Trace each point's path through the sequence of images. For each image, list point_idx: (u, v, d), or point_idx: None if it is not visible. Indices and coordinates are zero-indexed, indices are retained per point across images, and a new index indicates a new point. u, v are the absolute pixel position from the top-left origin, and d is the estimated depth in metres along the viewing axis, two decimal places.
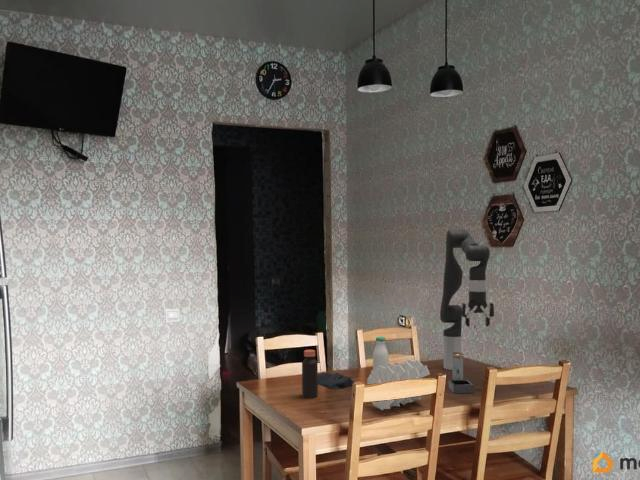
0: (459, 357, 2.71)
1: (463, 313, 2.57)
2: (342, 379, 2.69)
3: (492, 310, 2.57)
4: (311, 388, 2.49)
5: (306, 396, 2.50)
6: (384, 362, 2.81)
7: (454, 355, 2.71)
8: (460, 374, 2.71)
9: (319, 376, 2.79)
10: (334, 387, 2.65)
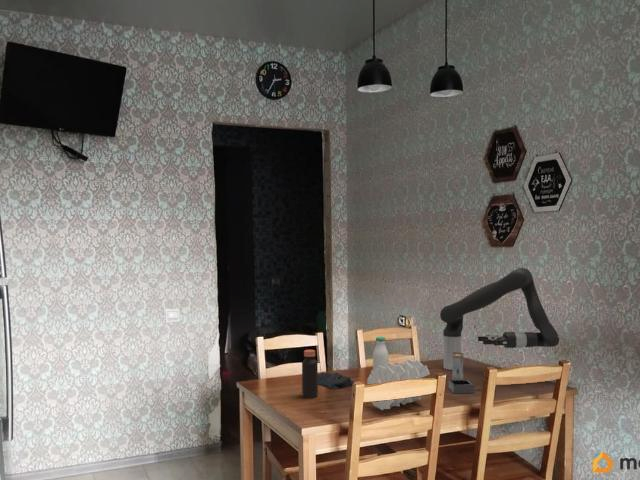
0: (459, 357, 2.71)
1: None
2: (341, 379, 2.69)
3: None
4: (311, 388, 2.49)
5: (306, 396, 2.50)
6: (384, 362, 2.81)
7: (454, 355, 2.71)
8: (460, 374, 2.71)
9: (318, 376, 2.79)
10: (333, 387, 2.65)
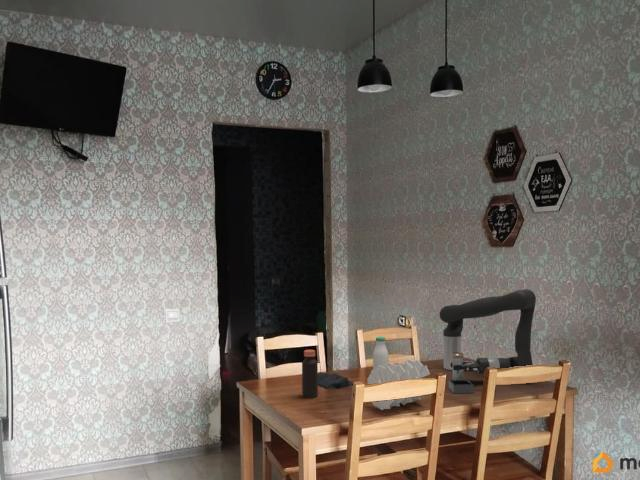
0: (459, 357, 2.71)
1: None
2: (338, 379, 2.68)
3: None
4: (311, 388, 2.49)
5: (306, 396, 2.50)
6: (384, 362, 2.81)
7: (454, 355, 2.71)
8: (460, 374, 2.71)
9: None
10: (330, 387, 2.65)
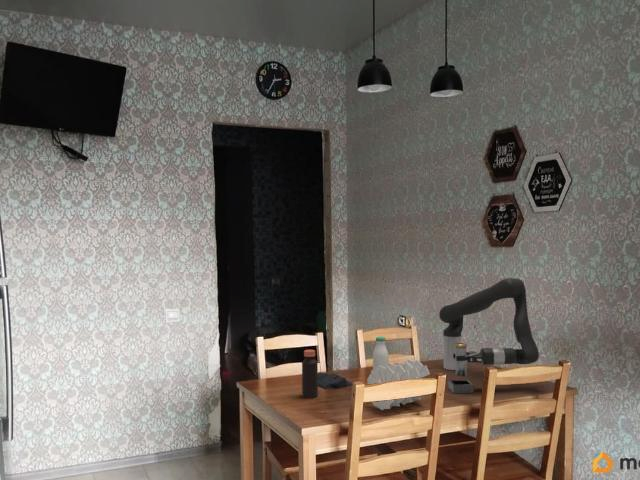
0: (462, 347, 2.57)
1: None
2: (336, 379, 2.68)
3: None
4: (311, 388, 2.49)
5: (306, 396, 2.50)
6: (384, 362, 2.81)
7: (457, 345, 2.58)
8: (463, 365, 2.58)
9: None
10: (328, 387, 2.65)
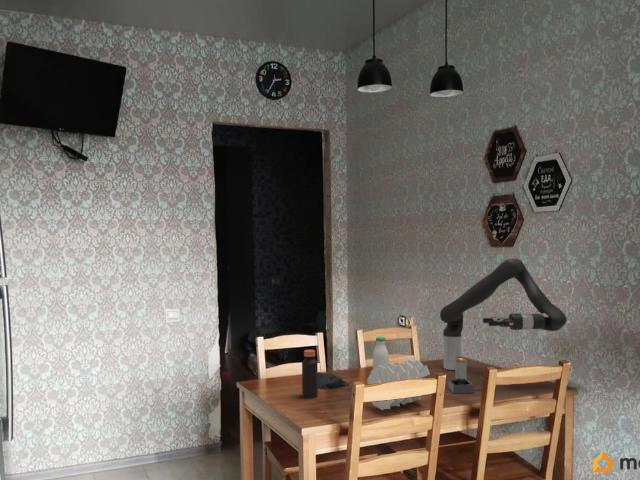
0: (462, 361, 2.58)
1: (503, 326, 2.59)
2: (333, 380, 2.68)
3: None
4: (311, 388, 2.49)
5: (306, 396, 2.50)
6: (384, 362, 2.81)
7: (457, 359, 2.58)
8: (463, 379, 2.58)
9: None
10: (324, 387, 2.65)
